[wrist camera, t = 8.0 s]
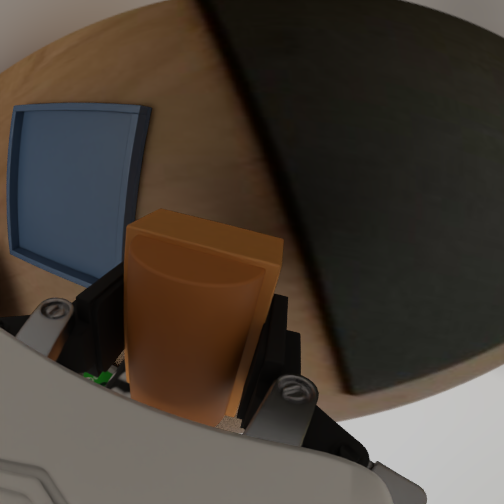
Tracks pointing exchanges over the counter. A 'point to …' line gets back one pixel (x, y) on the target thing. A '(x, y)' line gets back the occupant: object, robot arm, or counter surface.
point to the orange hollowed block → (194, 311)
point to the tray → (74, 185)
